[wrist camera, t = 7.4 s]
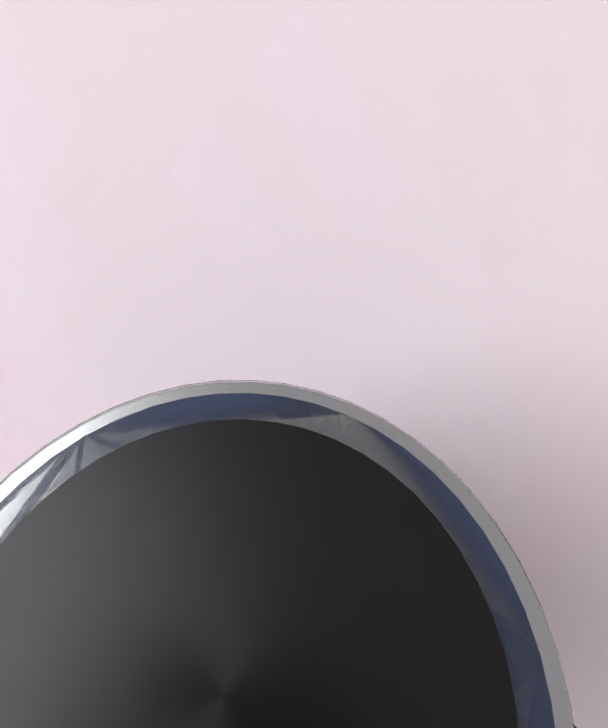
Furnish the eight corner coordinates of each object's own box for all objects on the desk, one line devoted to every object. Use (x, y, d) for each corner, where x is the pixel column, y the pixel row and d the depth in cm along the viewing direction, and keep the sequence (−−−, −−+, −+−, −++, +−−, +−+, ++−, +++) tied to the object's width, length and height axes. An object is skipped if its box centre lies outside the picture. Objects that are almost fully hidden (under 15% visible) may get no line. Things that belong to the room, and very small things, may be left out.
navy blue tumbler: (394, 539, 13) (552, 422, 6) (374, 836, 10) (657, 1510, 3) (177, 502, 14) (32, 338, 6) (97, 781, 11) (-429, 1235, 3)
